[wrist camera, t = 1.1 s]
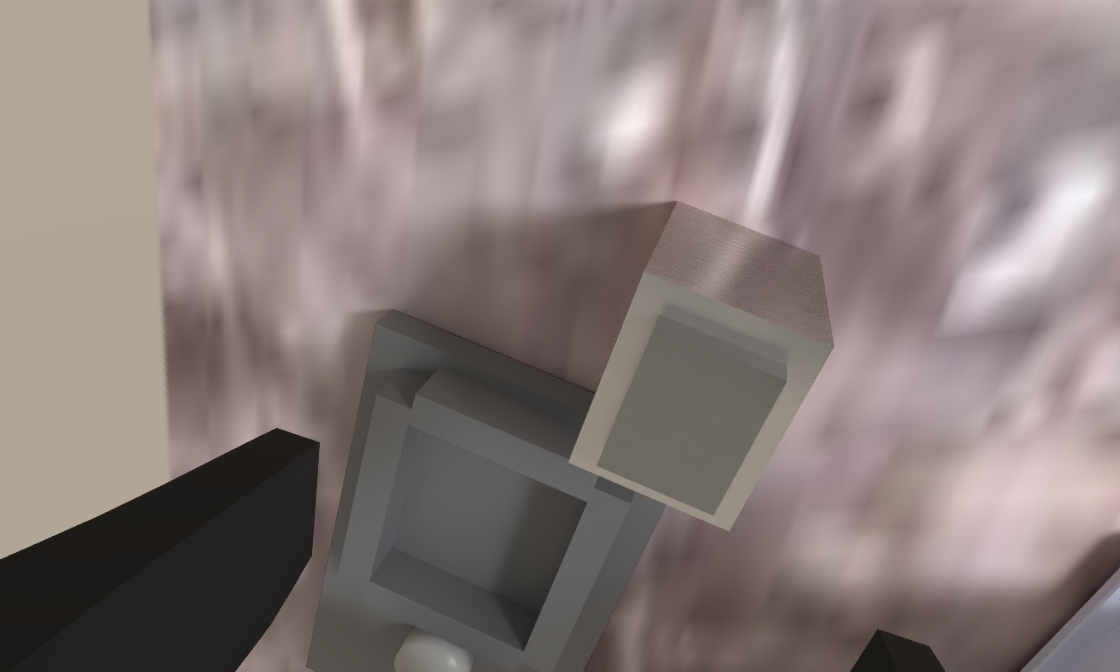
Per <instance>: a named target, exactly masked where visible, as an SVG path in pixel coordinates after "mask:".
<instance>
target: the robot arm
mask: <svg viewBox="0 0 1120 672" xmlns="http://www.w3.org/2000/svg"><path fill="white" fill-rule="evenodd" d="M319 447H320V442H317V441H314V440H311V439H308V438H305V437H302V436H299V435H296V434H293V433H290V432H287V431H284V430H281V429H278V428H276V429H274V430H271V431H269V432H267V433H265V434H263V435H261V436H259V437H257V438H255V439H253V440H251V441H249V442H247V443H245V444H243V445H241V446H239V447H237V448H235V449H233V450H231V451H229V452H227V453H225V454H223V455H221V456H219V457H217V458H215V459H213V460H211V461H209V462H207V463H205V464H203V465H201V466H199V467H197V468H195V469H194V470H192V471H190V472H188V473H186V474H184V475H182V476H180V477H178V478H176V479H174V480H172V481H170V482H168V483H166V484H164V485H162V486H160V487H157V488H156V489H153V490H151V491H149V492H147V493H145V494H143V495H141V496H139V497H137V498H135V499H133V500H131V501H129V502H126V503H124V504H122V505H120V506H118V507H116V508H114V509H112V510H110V511H108V512H106V513H104V514H102V515H100V516H97V517H95V518H93V519H91V520H89V521H86V522H84V523H82V524H79V525H77V526H75V527H73V528H70V529H68V530H66V531H64V532H61V533H59V534H57V535H55V536H52V537H50V538H48V539H46V540H44V541H41V542H39V543H37V544H34V545H32V546H30V547H28V548H25V549H23V550H21V551H19V552H16V553H14V554H12V555H9V556H7V557H5V558H3V559H0V672H235V671H236V670H237V669H238V667H239V666H240V665H241V663H242V662H243V661H244V659H245V658H246V657H247V656H248V654H249V653H250V652H251V650H252V649H253V648H254V646H255V645H256V644H257V642H258V641H259V640H260V638H261V637H262V636H263V634H264V633H265V632H266V630H267V629H268V628H269V626H270V625H271V623H272V622H273V620H274V618H275V617H276V615H277V613H278V612H279V610H280V609H281V607H282V605H283V604H284V602H285V600H286V599H287V597H288V596H289V594H290V592H291V591H292V589H293V587H294V585H295V584H296V582H297V580H298V579H299V577H300V575H301V573H302V572H303V570H304V568H305V567H306V565H307V563H308V561H309V560H310V558H311V556H312V547H313V533H314V518H315V504H316V490H317V476H318V462H319ZM850 672H945V670H944V669H943V667H942V665H941V664H940V662H939V661H938V659H937V658H936V656H935V655H934V653H933V651H932V650H931V648H930V647H929V646H927V645H924V644H921V643H918V642H915V641H912V640H909V639H906V638H903V637H900V636H897V635H894V634H891V633H888V632H885V631H882V630H879V629H877V631H876V632H875V634H874V636H873V637H872V639H871V640H870V642H869V643H868V645H867V646H866V648H865V650H864V651H863V653H862V654H861V656H860V657H859V659H858V661H857V662H856V664H855V665H854V667H853V668H852V670H851V671H850ZM1020 672H1120V568H1119V569H1118V570H1117V571H1116V572H1115V573H1114V575H1113V576H1112V577H1111V578H1110V579H1109V580H1108V581H1107V582H1106V583H1105V584H1104V585H1103V586H1102V587H1101V588H1100V589H1099V590H1098V591H1097V592H1096V593H1095V594H1094V595H1093V596H1092V597H1091V598H1090V599H1089V600H1088V602H1087V603H1086V604H1085V605H1084V606H1083V607H1082V608H1081V609H1080V610H1079V611H1078V612H1077V613H1076V614H1075V615H1074V616H1073V617H1072V618H1071V619H1070V620H1069V621H1068V622H1067V623H1066V624H1065V625H1064V626H1063V627H1062V628H1061V630H1060V631H1059V632H1058V633H1057V634H1056V635H1055V636H1054V637H1053V638H1052V639H1051V640H1050V641H1049V642H1048V643H1047V644H1046V645H1045V646H1044V647H1043V648H1042V649H1041V650H1040V651H1039V652H1038V653H1037V654H1036V655H1035V656H1034V658H1033V659H1032V660H1031V661H1030V662H1029V663H1028V664H1027V665H1026V666H1025V667H1024V668H1023V669H1022V670H1021V671H1020Z"/></svg>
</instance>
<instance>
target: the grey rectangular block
mask: <svg viewBox="0 0 1120 672" xmlns="http://www.w3.org/2000/svg"><path fill="white" fill-rule="evenodd" d="M833 348H834V343H833V337H832V330H831V324H830V318H829V311H828V305H827V298H826V292H825V285H824V279H823V272H822V266H821V260H820V256H819V255H817V254H814V253H812V252H809V251H806V250H804V249H801V248H799V247H796V246H793V245H791V244H788V243H786V242H783V241H780V240H778V239H775V238H773V237H770V236H767V235H765V234H762V233H760V232H757V231H754V230H752V229H749V228H747V227H744V226H741V225H739V224H736V223H734V222H731V221H728V220H726V219H723V218H721V217H718V216H715V215H713V214H710V213H708V212H705V211H702V210H700V209H697V208H695V207H692V206H689V205H687V204H684V203H682V202H679V201H677V203H676V206H675V208H674V210H673V212H672V214H671V216H670V218H669V220H668V222H667V224H666V226H665V228H664V230H663V233H662V235H661V237H660V239H659V241H658V243H657V245H656V247H655V249H654V251H653V253H652V255H651V257H650V260H649V262H648V264H647V266H646V268H645V270H644V272H643V275H642V277H641V280H640V282H639V285H638V287H637V290H636V292H635V295H634V297H633V300H632V302H631V305H630V308H629V310H628V313H627V315H626V318H625V320H624V323H623V325H622V328H621V330H620V333H619V335H618V338H617V340H616V343H615V345H614V348H613V350H612V353H611V356H610V358H609V361H608V363H607V366H606V368H605V371H604V373H603V376H602V378H601V381H600V383H599V386H598V388H597V391H596V393H595V396H594V399H593V401H592V404H591V406H590V409H589V411H588V414H587V416H586V419H585V421H584V424H583V426H582V429H581V431H580V434H579V436H578V439H577V442H576V444H575V447H574V449H573V452H572V454H571V457H570V459H569V462H568V463H570V464H573V465H575V466H577V467H580V468H582V469H584V470H587V471H589V472H591V473H594V474H596V475H598V476H601V477H603V478H605V479H608V480H610V481H613V482H615V483H617V484H620V485H622V486H624V487H627V488H629V489H631V490H634V491H636V492H638V493H641V494H643V495H645V496H648V497H650V498H652V499H655V500H657V501H659V502H662V503H664V504H666V505H669V506H671V507H673V508H676V509H678V510H680V511H683V512H685V513H687V514H690V515H692V516H694V517H697V518H699V519H701V520H704V521H706V522H708V523H711V524H713V525H715V526H718V527H720V528H722V529H725V530H727V531H730V529H731V527H732V525H733V524H734V522H735V520H736V518H737V517H738V515H739V513H740V511H741V509H742V508H743V506H744V504H745V502H746V501H747V499H748V497H749V495H750V494H751V492H752V490H753V488H754V487H755V485H756V483H757V481H758V480H759V478H760V476H761V474H762V473H763V471H764V469H765V467H766V465H767V464H768V462H769V460H770V458H771V457H772V455H773V453H774V451H775V450H776V448H777V446H778V444H779V443H780V441H781V439H782V437H783V436H784V434H785V432H786V430H787V429H788V427H789V425H790V423H791V421H792V420H793V418H794V416H795V414H796V413H797V411H798V409H799V407H800V406H801V404H802V402H803V400H804V399H805V397H806V395H807V393H808V392H809V390H810V388H811V386H812V385H813V383H814V381H815V379H816V378H817V376H818V374H819V372H820V370H821V369H822V367H823V365H824V363H825V362H826V360H827V358H828V356H829V355H830V353H831V351H832V349H833Z"/></svg>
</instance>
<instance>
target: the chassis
mask: <svg viewBox="0 0 1120 672" xmlns="http://www.w3.org/2000/svg"><path fill="white" fill-rule="evenodd" d="M594 396H595V393H593V392H590V391H588V390H586V389H583V388H581V387H578V386H576V385H574V384H571V383H569V382H566V381H564V380H562V379H559V378H557V377H554V376H552V375H550V374H547V373H545V372H542V371H540V370H538V369H535V368H533V367H530V366H528V365H526V364H523V363H521V362H518V361H516V360H514V359H511V358H509V357H506V356H504V355H501V354H499V353H497V352H494V351H492V350H489V349H487V348H485V347H482V346H480V345H477V344H475V343H473V342H470V341H468V340H465V339H463V338H461V337H458V336H456V335H453V334H451V333H449V332H446V331H444V330H441V329H439V328H437V327H434V326H432V325H429V324H427V323H425V322H422V321H420V320H417V319H415V318H413V317H410V316H408V315H405V314H403V313H401V312H398V311H396V310H392V311H391V312H389V313H388V314H387V315H386V316H385V317H383V318H382V319H381V320H380V321H379V322H377V323H376V326H375V331H374V336H373V341H372V346H371V351H370V356H369V361H368V366H367V371H366V376H365V380H364V385H363V390H362V395H361V400H360V405H359V410H358V415H357V420H356V425H355V430H354V434H353V439H352V444H351V449H350V454H349V459H348V464H347V469H346V474H345V479H344V484H343V489H342V493H341V498H340V503H339V508H338V513H337V518H336V523H335V528H334V533H333V538H332V543H331V547H330V552H329V557H328V562H327V567H326V572H325V577H324V582H323V587H322V592H321V597H320V602H319V606H318V611H317V616H316V621H315V626H314V631H313V636H312V641H311V646H310V651H309V656H308V660H307V665H306V667H307V668H309V669H311V670H313V671H315V672H583V671H584V669H585V667H586V665H587V663H588V661H589V659H590V657H591V655H592V653H593V651H594V649H595V647H596V645H597V643H598V641H599V639H600V637H601V635H602V633H603V631H604V629H605V627H606V625H607V623H608V621H609V619H610V617H611V615H612V613H613V611H614V609H615V607H616V605H617V603H618V601H619V599H620V597H621V595H622V593H623V591H624V589H625V587H626V585H627V583H628V581H629V579H630V577H631V575H632V573H633V571H634V569H635V567H636V565H637V563H638V561H639V559H640V557H641V555H642V553H643V551H644V549H645V547H646V545H647V543H648V541H649V539H650V537H651V535H652V533H653V531H654V529H655V527H656V525H657V523H658V521H659V519H660V517H661V515H662V513H663V511H664V509H665V507H666V504H664V503H662V502H659V501H657V500H655V499H652V498H650V497H648V496H645V495H643V494H641V493H638V492H636V491H634V490H631V489H629V488H627V487H624V486H622V485H620V484H617V483H615V482H613V481H610V480H608V479H605V478H603V477H601V476H598V475H596V474H594V473H591V472H589V471H587V470H584V469H582V468H580V467H577V466H575V465H573V464H570V463H568V462H569V459H570V457H571V454H572V452H573V449H574V447H575V444H576V442H577V439H578V436H579V434H580V431H581V429H582V426H583V424H584V421H585V419H586V416H587V414H588V411H589V409H590V406H591V404H592V401H593V399H594Z"/></svg>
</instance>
